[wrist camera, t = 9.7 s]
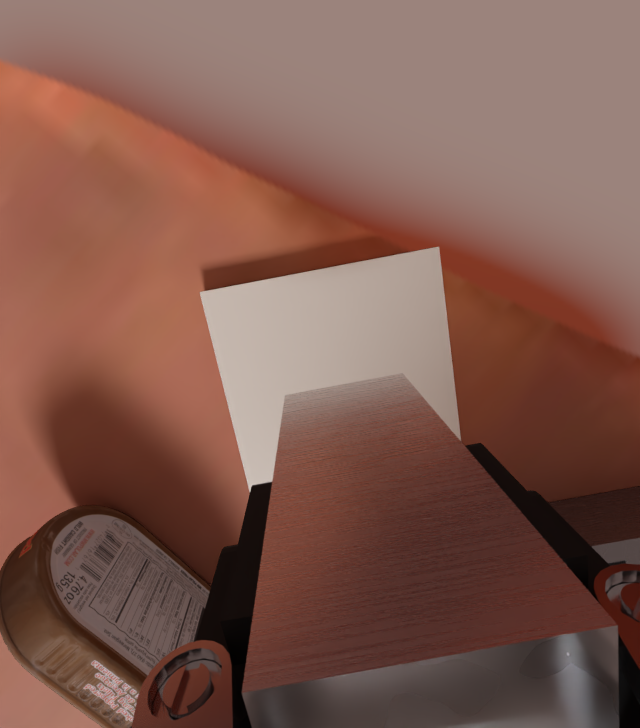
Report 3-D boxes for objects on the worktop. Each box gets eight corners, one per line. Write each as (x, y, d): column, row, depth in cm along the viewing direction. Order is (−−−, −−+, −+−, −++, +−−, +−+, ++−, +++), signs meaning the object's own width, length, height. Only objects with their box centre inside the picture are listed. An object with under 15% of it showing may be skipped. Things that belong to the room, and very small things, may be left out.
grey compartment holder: (692, 586, 27) (758, 642, 23) (386, 641, 27) (399, 706, 23) (695, 476, 25) (768, 516, 21) (366, 535, 26) (378, 586, 22)
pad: (457, 458, 24) (463, 466, 24) (255, 495, 25) (253, 505, 24) (433, 247, 22) (438, 246, 21) (204, 291, 22) (199, 292, 21)
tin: (59, 504, 25) (-64, 625, 16) (96, 470, 24) (-12, 578, 16) (240, 657, 27) (212, 824, 19) (276, 629, 27) (262, 789, 19)
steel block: (417, 479, 15) (620, 877, 5) (307, 499, 15) (312, 929, 5) (402, 372, 14) (617, 625, 4) (285, 395, 14) (242, 692, 4)
